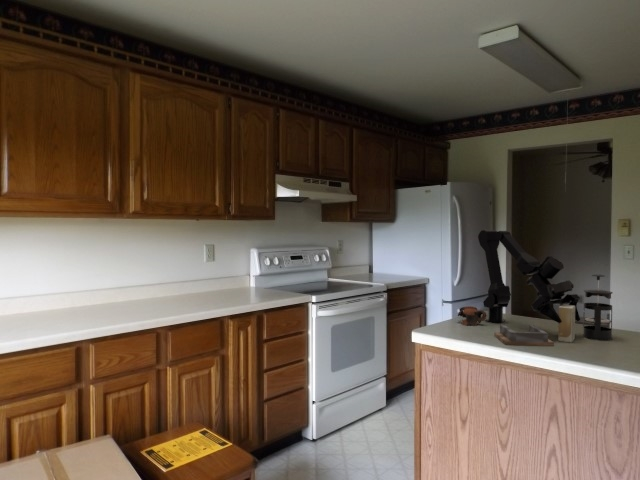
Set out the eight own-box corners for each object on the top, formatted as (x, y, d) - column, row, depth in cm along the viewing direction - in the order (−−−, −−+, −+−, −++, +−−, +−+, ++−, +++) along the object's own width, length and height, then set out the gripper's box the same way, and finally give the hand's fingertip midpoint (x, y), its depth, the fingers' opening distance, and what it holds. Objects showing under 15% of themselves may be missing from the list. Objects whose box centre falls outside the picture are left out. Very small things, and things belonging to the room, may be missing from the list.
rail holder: (494, 335, 169) (494, 324, 169) (539, 336, 168) (539, 325, 168) (505, 344, 156) (505, 332, 156) (554, 345, 155) (554, 333, 155)
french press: (613, 342, 160) (614, 276, 160) (582, 338, 165) (583, 275, 164) (611, 335, 170) (612, 273, 170) (582, 332, 175) (583, 272, 174)
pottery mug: (455, 325, 189) (453, 307, 193) (464, 332, 195) (462, 314, 199) (483, 321, 182) (481, 302, 186) (492, 328, 188) (490, 309, 192)
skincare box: (561, 337, 167) (562, 304, 167) (575, 339, 164) (575, 305, 164) (557, 340, 162) (558, 306, 162) (571, 342, 159) (572, 307, 159)
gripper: (538, 274, 163) (565, 310, 153) (575, 272, 170) (603, 306, 160) (520, 293, 170) (545, 328, 160) (557, 290, 177) (582, 324, 167)
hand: (569, 321), depth 162 cm, fingers open, 9 cm apart
